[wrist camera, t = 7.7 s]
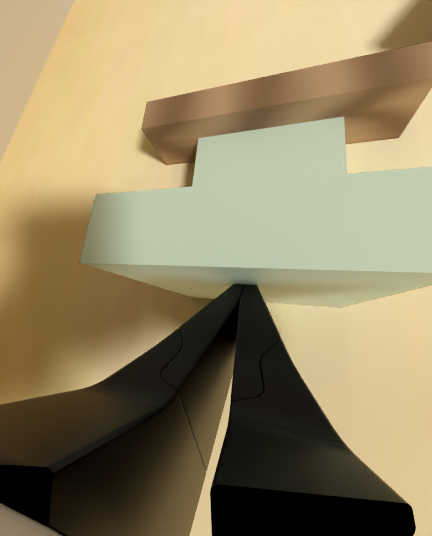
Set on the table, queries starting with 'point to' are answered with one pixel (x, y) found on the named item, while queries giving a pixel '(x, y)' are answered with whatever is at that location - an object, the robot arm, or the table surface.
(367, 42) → the table surface
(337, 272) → the bookend
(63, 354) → the table surface
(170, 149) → the board
